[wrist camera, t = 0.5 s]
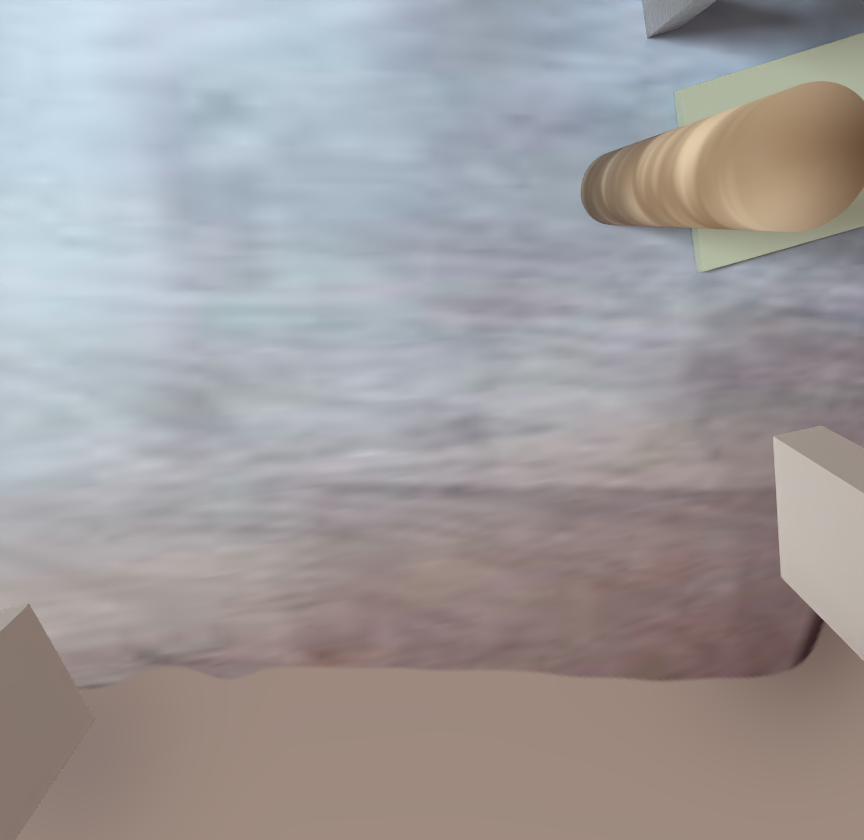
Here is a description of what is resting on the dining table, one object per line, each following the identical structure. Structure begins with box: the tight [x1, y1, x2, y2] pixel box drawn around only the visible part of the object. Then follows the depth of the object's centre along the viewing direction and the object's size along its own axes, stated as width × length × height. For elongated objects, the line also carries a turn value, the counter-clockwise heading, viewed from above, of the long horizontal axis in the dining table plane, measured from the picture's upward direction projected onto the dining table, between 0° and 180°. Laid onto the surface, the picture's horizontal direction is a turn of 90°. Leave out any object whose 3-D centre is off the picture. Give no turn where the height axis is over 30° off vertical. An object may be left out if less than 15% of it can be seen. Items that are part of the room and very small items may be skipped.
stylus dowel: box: [581, 81, 864, 232], centre depth 25 cm, size 4×4×18 cm
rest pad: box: [674, 32, 864, 272], centre depth 33 cm, size 10×10×1 cm
